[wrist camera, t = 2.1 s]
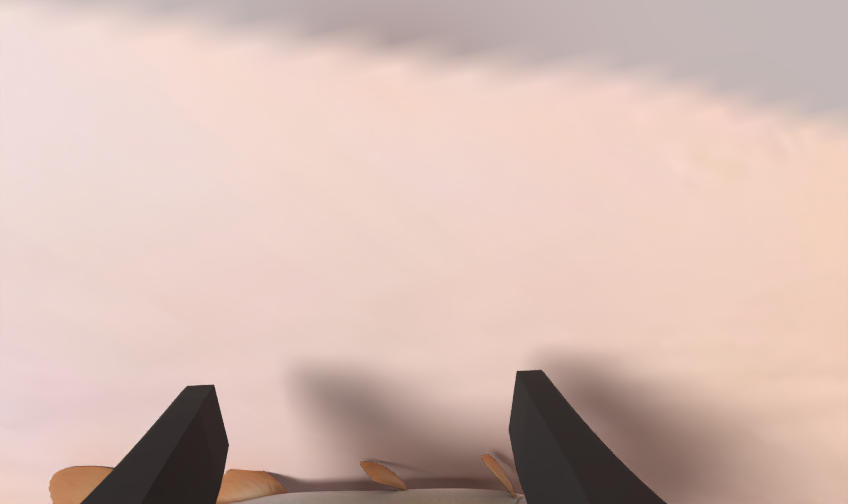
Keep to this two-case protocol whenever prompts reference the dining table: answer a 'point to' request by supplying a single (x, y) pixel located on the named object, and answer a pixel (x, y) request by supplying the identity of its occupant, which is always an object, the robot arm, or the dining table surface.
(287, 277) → the dining table surface
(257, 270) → the dining table surface
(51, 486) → the fish
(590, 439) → the robot arm
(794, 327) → the dining table surface
